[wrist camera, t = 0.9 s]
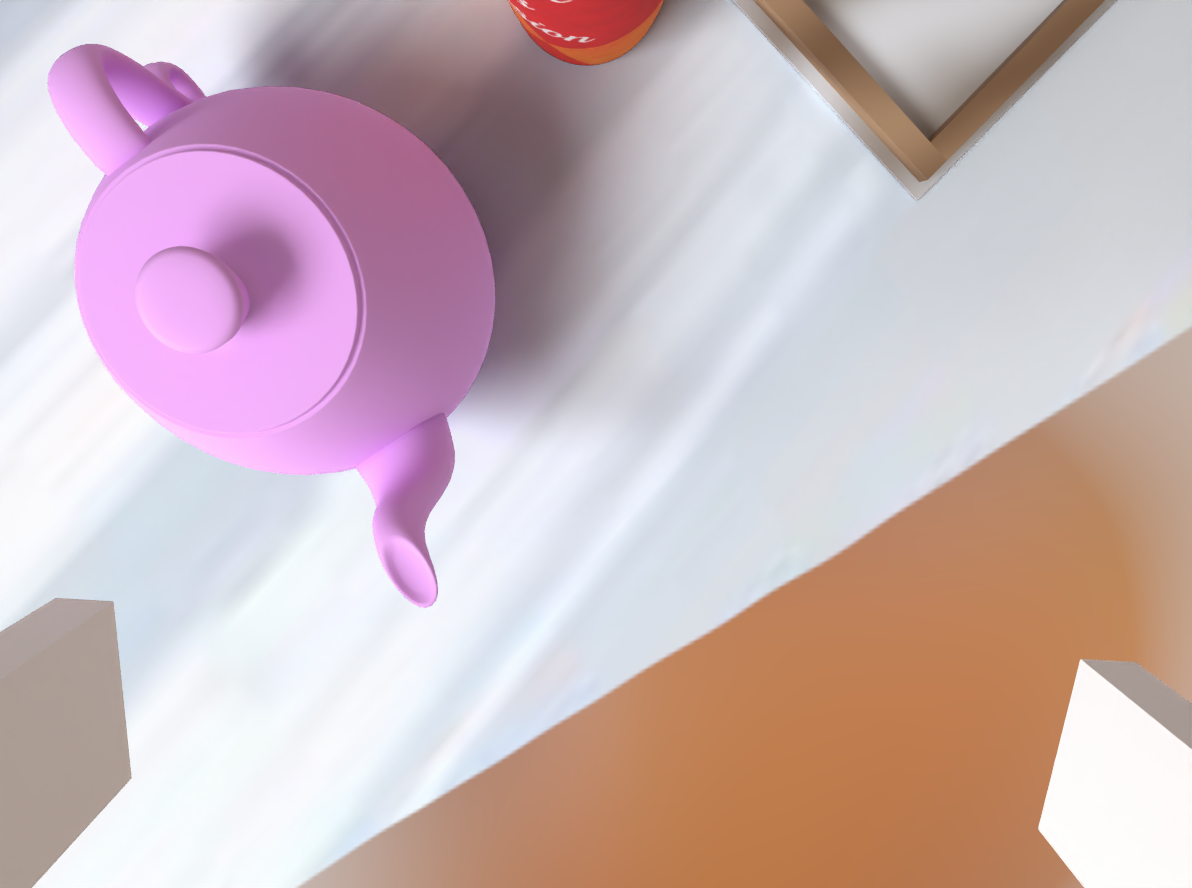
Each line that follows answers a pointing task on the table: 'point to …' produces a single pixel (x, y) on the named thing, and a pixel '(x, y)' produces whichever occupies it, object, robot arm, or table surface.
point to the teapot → (281, 281)
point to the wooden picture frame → (921, 67)
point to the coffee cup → (586, 26)
